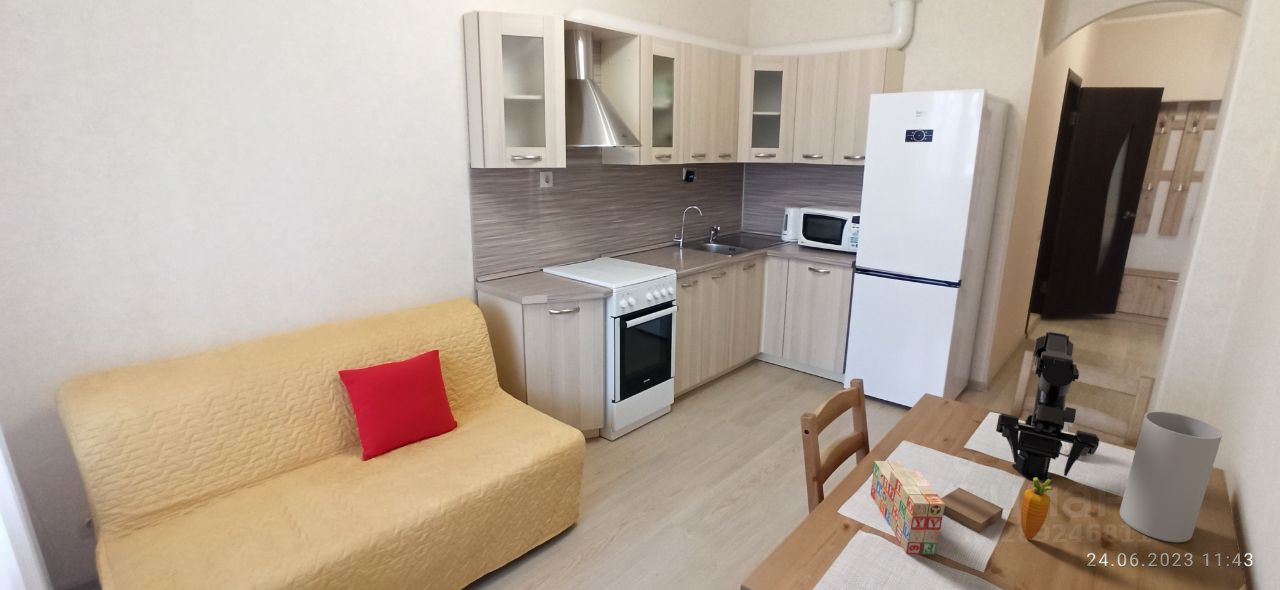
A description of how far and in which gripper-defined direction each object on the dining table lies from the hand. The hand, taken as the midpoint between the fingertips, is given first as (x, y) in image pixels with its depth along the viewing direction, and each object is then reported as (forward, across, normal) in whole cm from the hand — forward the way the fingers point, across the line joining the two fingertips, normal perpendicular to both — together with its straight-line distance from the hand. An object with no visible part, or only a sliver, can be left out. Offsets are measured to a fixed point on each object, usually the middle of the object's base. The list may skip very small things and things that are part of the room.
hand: (1040, 469), depth 131 cm
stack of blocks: (+22, -24, -2) cm, 32 cm away
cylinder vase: (-1, +24, +20) cm, 31 cm away
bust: (-22, +5, +41) cm, 47 cm away
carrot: (+15, 0, +4) cm, 15 cm away
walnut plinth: (+13, -12, +6) cm, 18 cm away
